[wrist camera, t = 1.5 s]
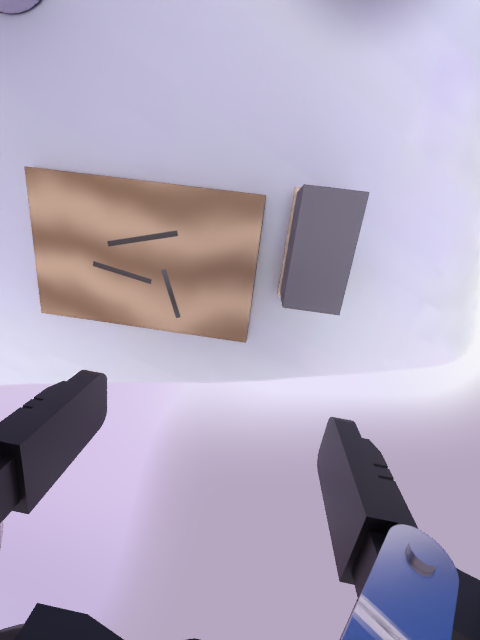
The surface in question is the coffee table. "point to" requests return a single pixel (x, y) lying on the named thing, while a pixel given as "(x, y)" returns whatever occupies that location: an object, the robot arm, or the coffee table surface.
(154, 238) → the oak board
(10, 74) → the coffee table surface
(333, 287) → the sanding block
